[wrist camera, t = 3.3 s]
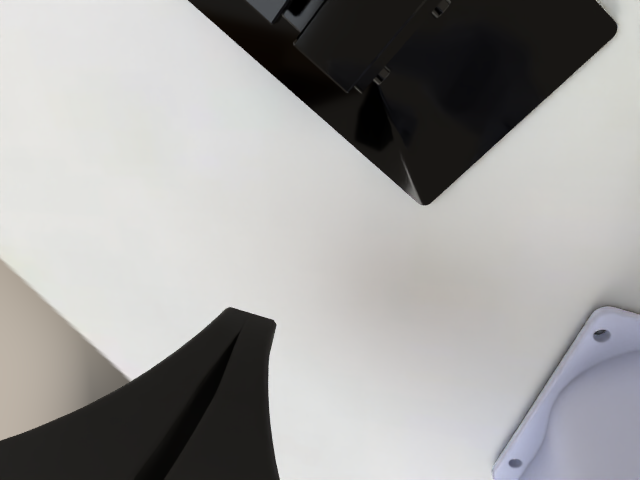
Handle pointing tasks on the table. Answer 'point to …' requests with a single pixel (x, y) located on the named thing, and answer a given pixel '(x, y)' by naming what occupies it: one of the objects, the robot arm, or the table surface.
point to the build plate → (418, 70)
